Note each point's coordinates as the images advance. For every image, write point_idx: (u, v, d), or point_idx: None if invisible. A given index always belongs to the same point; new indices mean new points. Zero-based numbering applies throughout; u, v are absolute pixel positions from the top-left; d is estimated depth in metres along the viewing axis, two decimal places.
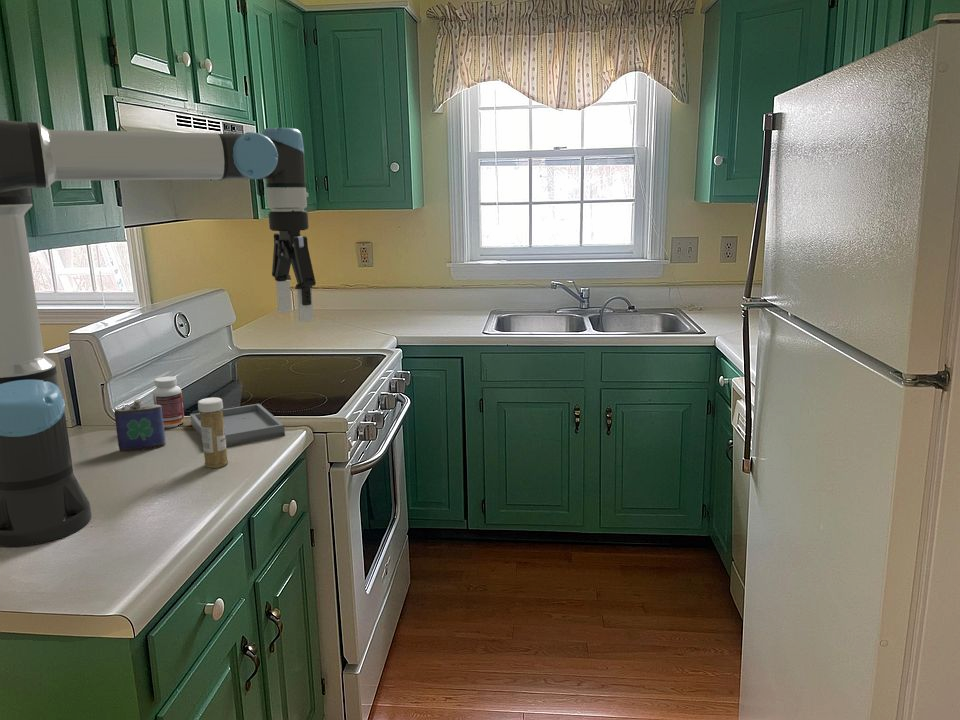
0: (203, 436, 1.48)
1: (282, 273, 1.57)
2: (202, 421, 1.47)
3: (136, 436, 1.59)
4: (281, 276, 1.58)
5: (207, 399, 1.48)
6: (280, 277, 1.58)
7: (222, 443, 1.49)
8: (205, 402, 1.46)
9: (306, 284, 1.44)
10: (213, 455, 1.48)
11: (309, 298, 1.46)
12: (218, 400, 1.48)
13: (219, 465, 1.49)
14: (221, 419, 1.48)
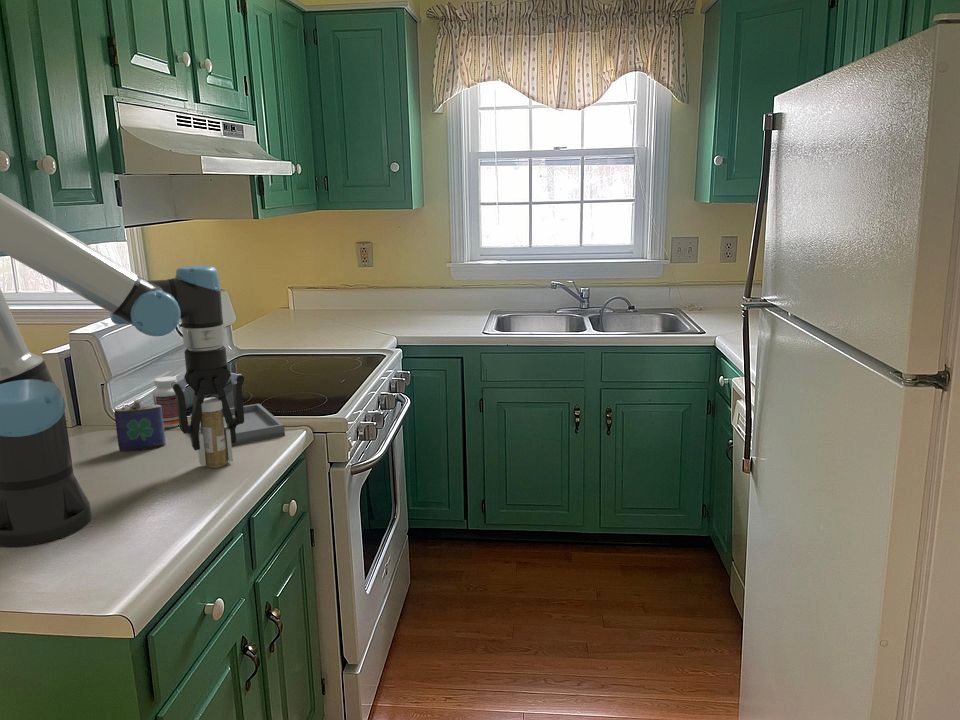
0: (203, 436, 1.48)
1: (224, 416, 1.50)
2: (202, 421, 1.47)
3: (136, 436, 1.59)
4: None
5: (207, 399, 1.48)
6: (228, 422, 1.51)
7: (222, 442, 1.49)
8: (205, 402, 1.46)
9: None
10: (213, 455, 1.48)
11: (192, 443, 1.47)
12: (218, 400, 1.48)
13: (219, 465, 1.49)
14: (221, 419, 1.48)
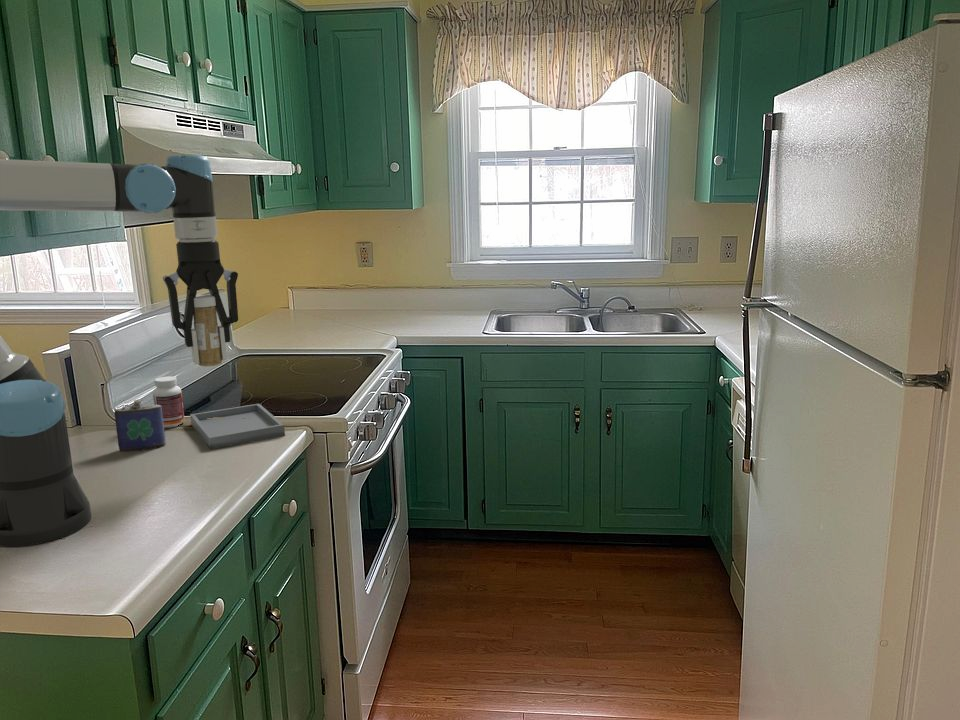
0: (196, 333, 1.45)
1: (218, 314, 1.47)
2: (195, 317, 1.44)
3: (136, 436, 1.59)
4: None
5: (200, 295, 1.45)
6: (221, 321, 1.48)
7: (216, 340, 1.46)
8: (198, 297, 1.43)
9: (173, 325, 1.44)
10: (206, 352, 1.45)
11: (185, 340, 1.44)
12: (211, 296, 1.45)
13: (212, 363, 1.46)
14: (214, 316, 1.45)
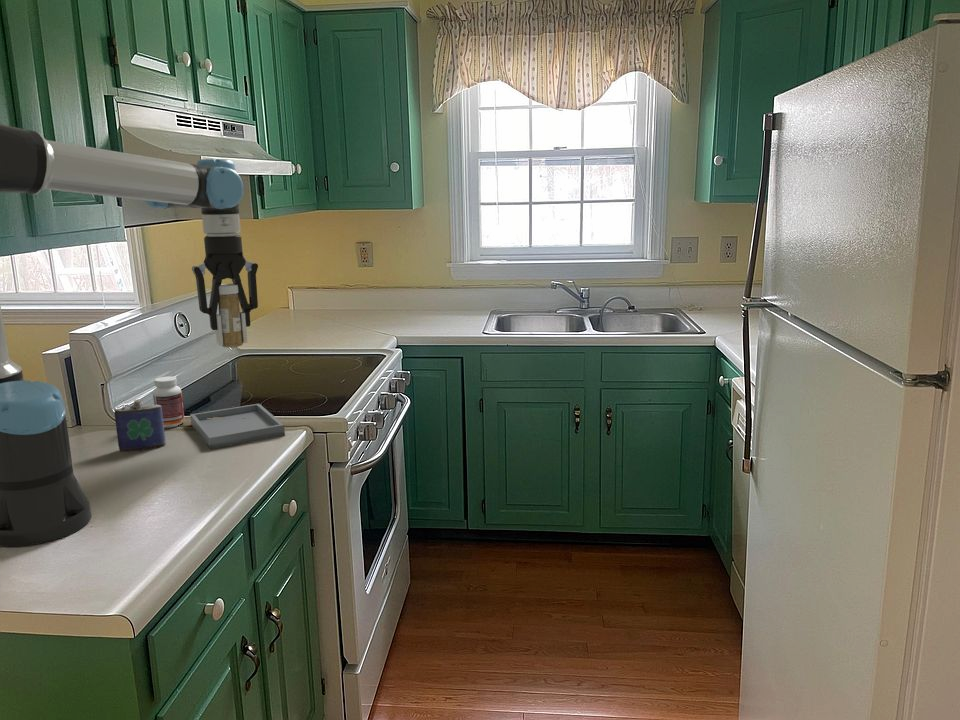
0: None
1: (240, 301, 1.65)
2: (220, 303, 1.62)
3: (136, 436, 1.59)
4: None
5: (224, 284, 1.63)
6: (243, 307, 1.65)
7: (238, 324, 1.63)
8: (222, 285, 1.61)
9: (200, 310, 1.61)
10: (229, 335, 1.63)
11: (211, 324, 1.62)
12: (234, 284, 1.62)
13: (235, 345, 1.63)
14: (237, 302, 1.63)
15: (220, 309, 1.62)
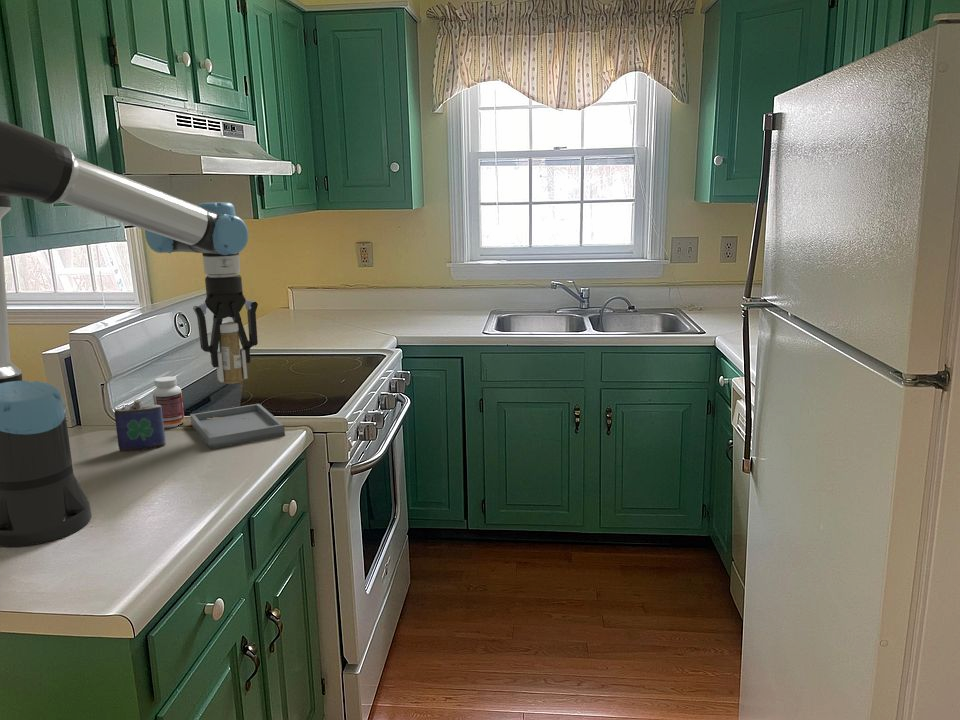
0: None
1: (240, 339, 1.69)
2: (220, 341, 1.66)
3: (136, 436, 1.59)
4: None
5: (225, 322, 1.67)
6: (243, 344, 1.70)
7: (238, 361, 1.68)
8: (223, 324, 1.65)
9: (201, 348, 1.65)
10: (230, 372, 1.67)
11: (212, 361, 1.66)
12: (235, 323, 1.66)
13: (235, 381, 1.68)
14: (237, 340, 1.67)
15: (221, 347, 1.66)
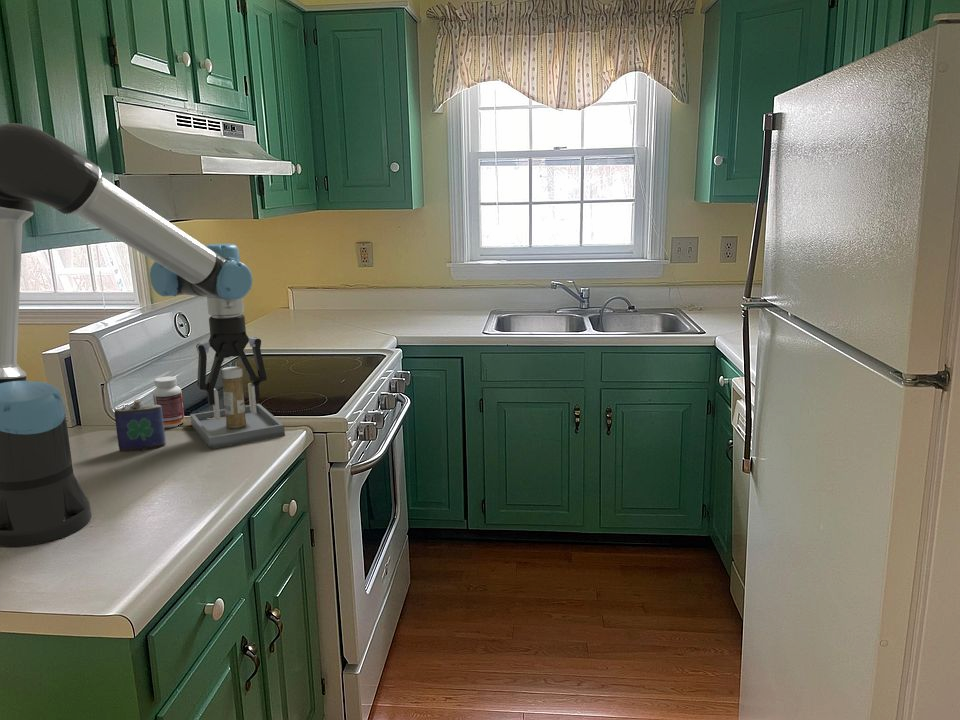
0: (225, 400, 1.69)
1: (248, 375, 1.71)
2: (224, 387, 1.68)
3: (136, 436, 1.59)
4: None
5: (229, 368, 1.69)
6: (252, 380, 1.72)
7: (242, 406, 1.70)
8: (227, 370, 1.67)
9: (198, 386, 1.66)
10: (233, 417, 1.69)
11: (208, 399, 1.67)
12: (239, 368, 1.69)
13: (239, 426, 1.70)
14: (241, 385, 1.69)
15: (225, 392, 1.68)
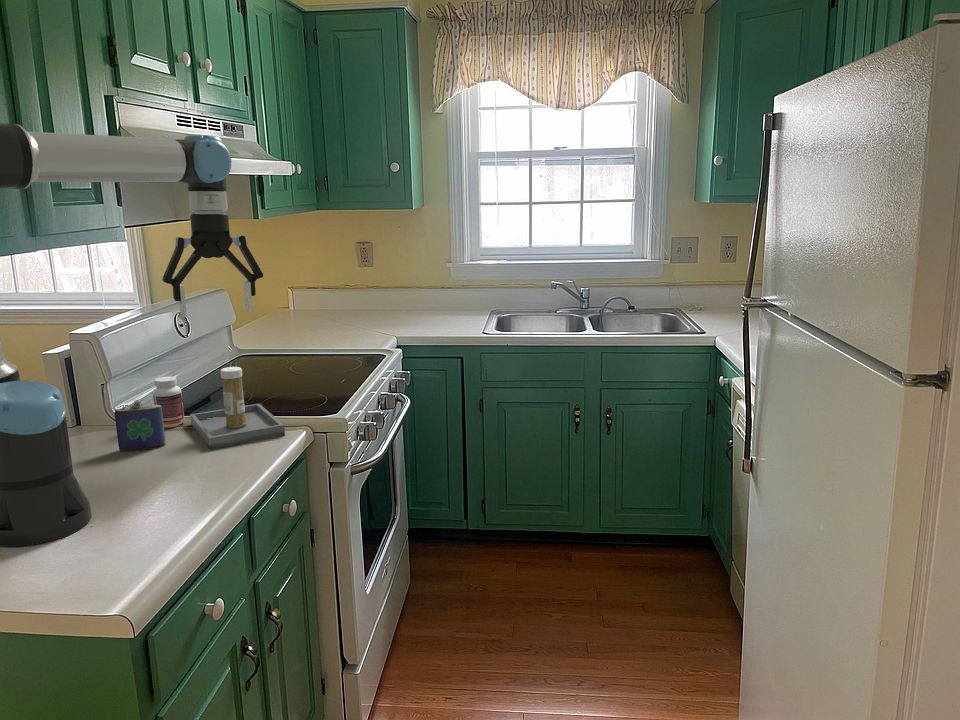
0: (225, 400, 1.69)
1: (242, 273, 1.64)
2: (224, 387, 1.68)
3: (136, 436, 1.59)
4: None
5: (228, 368, 1.69)
6: (248, 277, 1.65)
7: (242, 406, 1.70)
8: (227, 370, 1.67)
9: (163, 280, 1.56)
10: (233, 417, 1.69)
11: (174, 295, 1.57)
12: (238, 369, 1.69)
13: (239, 426, 1.70)
14: (240, 385, 1.69)
15: (224, 392, 1.68)
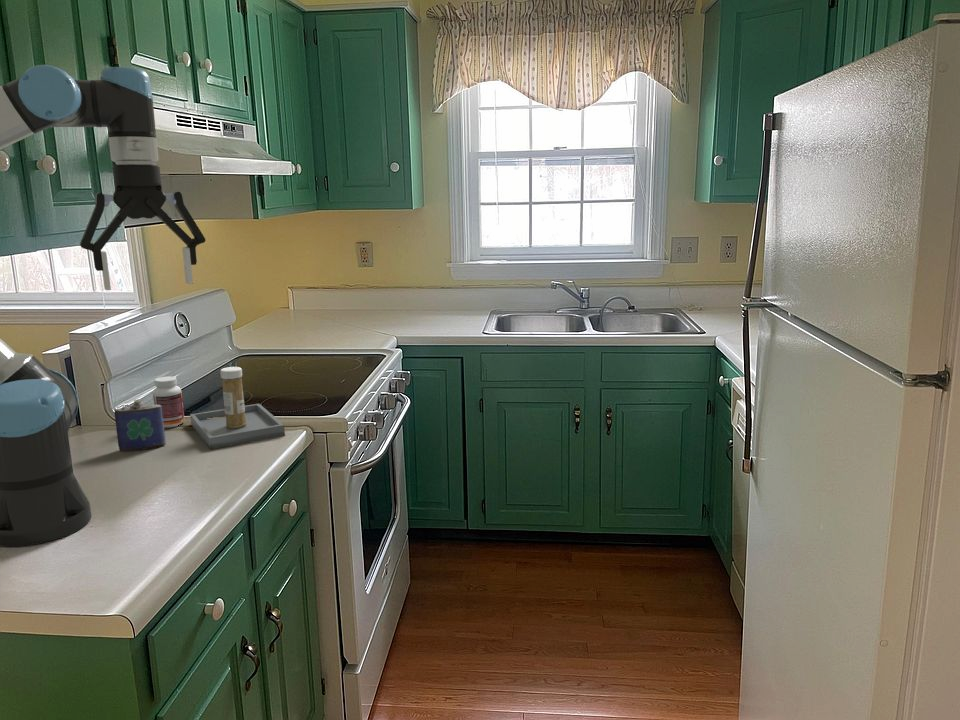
0: (225, 400, 1.69)
1: (180, 238, 1.37)
2: (224, 387, 1.68)
3: (136, 436, 1.59)
4: None
5: (228, 368, 1.69)
6: (187, 243, 1.38)
7: (242, 406, 1.70)
8: (227, 370, 1.67)
9: None
10: (233, 417, 1.69)
11: (94, 263, 1.30)
12: (238, 368, 1.69)
13: (239, 426, 1.70)
14: (240, 385, 1.69)
15: (224, 392, 1.68)
